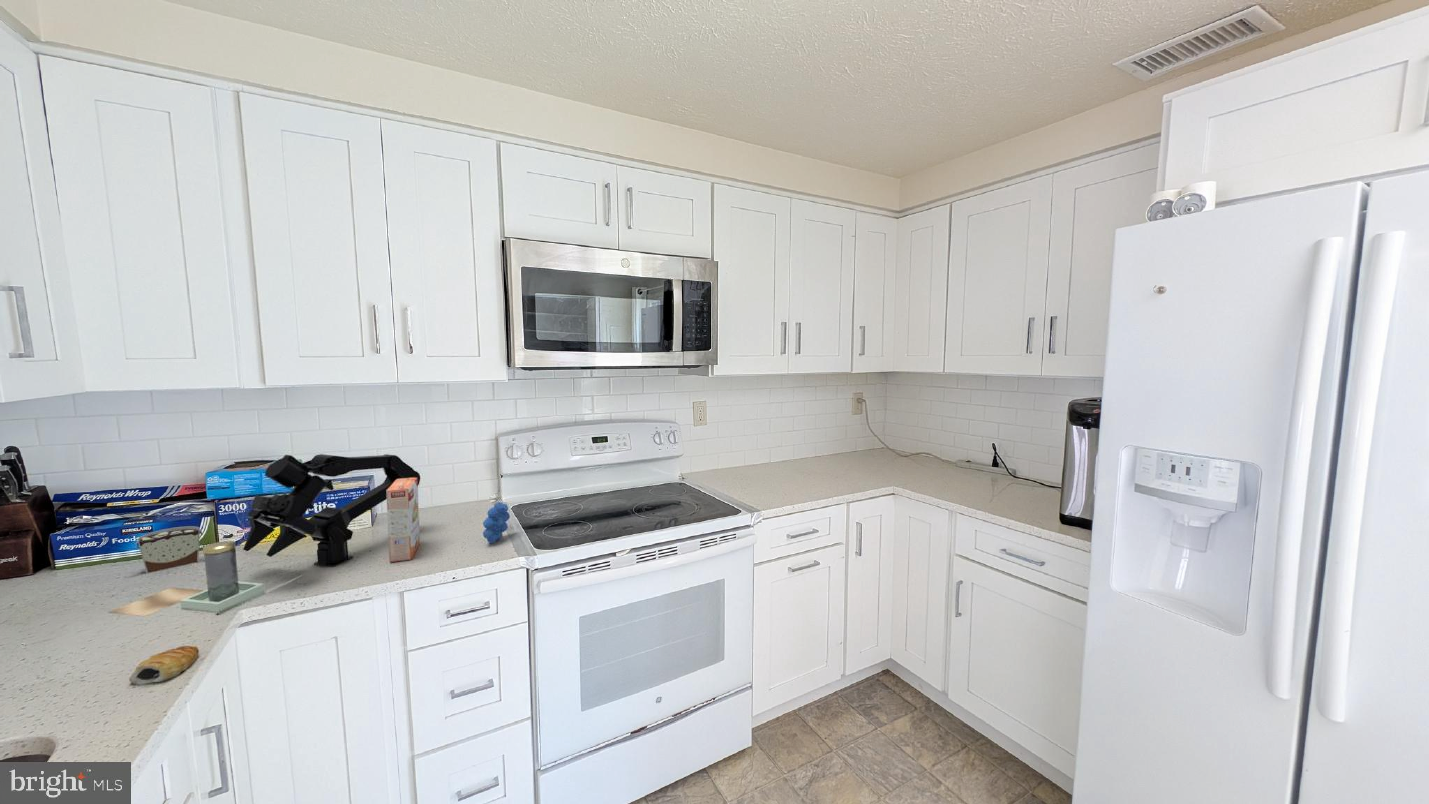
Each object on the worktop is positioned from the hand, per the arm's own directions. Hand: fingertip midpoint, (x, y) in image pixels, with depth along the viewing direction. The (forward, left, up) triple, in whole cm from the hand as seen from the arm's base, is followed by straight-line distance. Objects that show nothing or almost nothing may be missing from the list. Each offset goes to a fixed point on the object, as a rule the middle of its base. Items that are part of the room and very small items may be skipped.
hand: (256, 553), depth 124 cm
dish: (+7, -1, -9) cm, 12 cm away
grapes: (-39, +39, -9) cm, 56 cm away
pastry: (+30, +16, -10) cm, 35 cm away
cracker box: (-26, +19, -9) cm, 33 cm away
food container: (-7, -36, -9) cm, 38 cm away
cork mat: (+10, -15, -9) cm, 21 cm away
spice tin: (+7, -1, -8) cm, 11 cm away
